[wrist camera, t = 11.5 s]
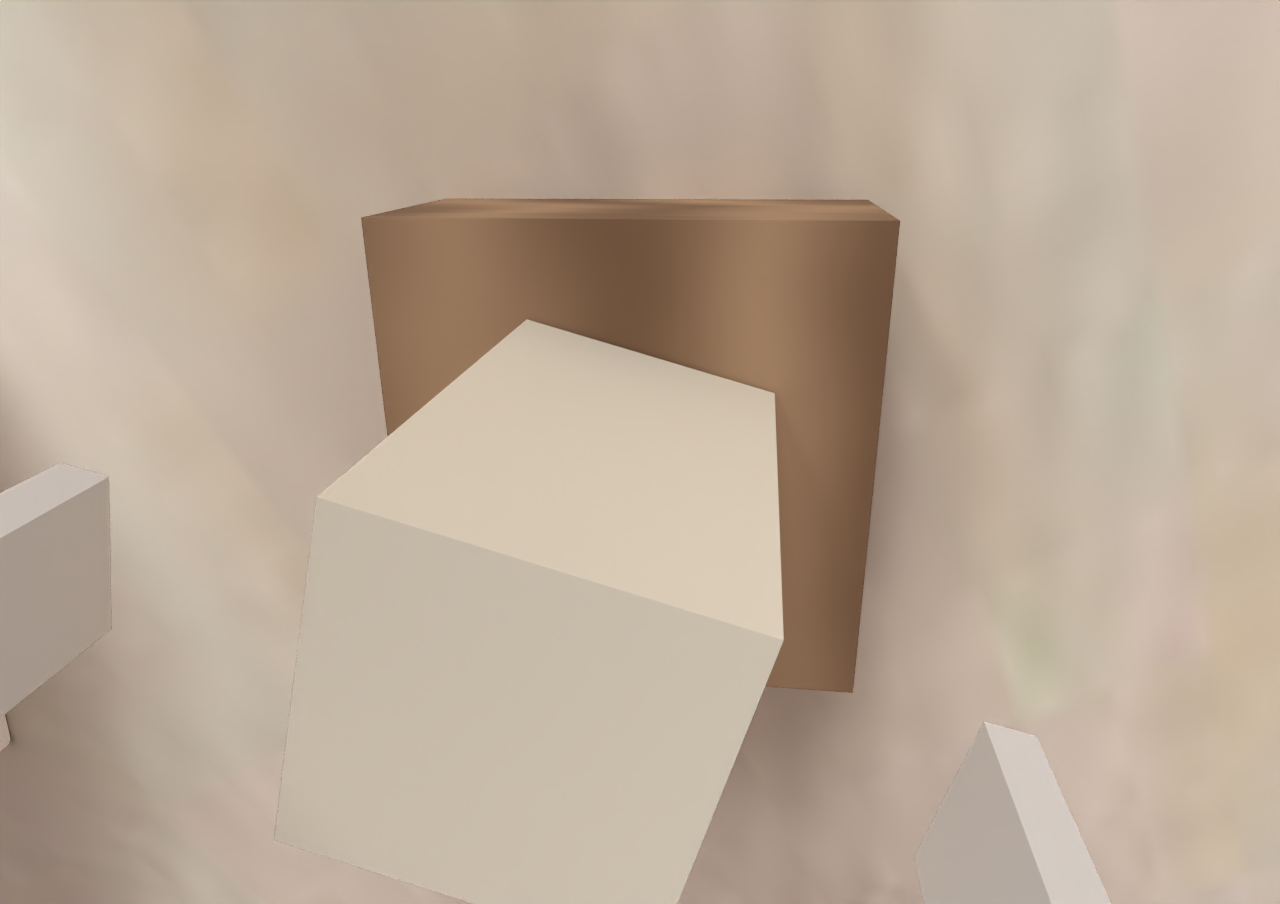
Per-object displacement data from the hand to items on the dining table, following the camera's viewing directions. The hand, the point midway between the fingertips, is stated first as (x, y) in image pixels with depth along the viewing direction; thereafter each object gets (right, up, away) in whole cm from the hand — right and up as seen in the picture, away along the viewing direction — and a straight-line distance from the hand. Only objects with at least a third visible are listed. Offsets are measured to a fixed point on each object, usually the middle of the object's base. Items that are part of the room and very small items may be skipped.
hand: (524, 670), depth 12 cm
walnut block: (+2, +5, +14) cm, 15 cm away
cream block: (+1, +3, +8) cm, 9 cm away
